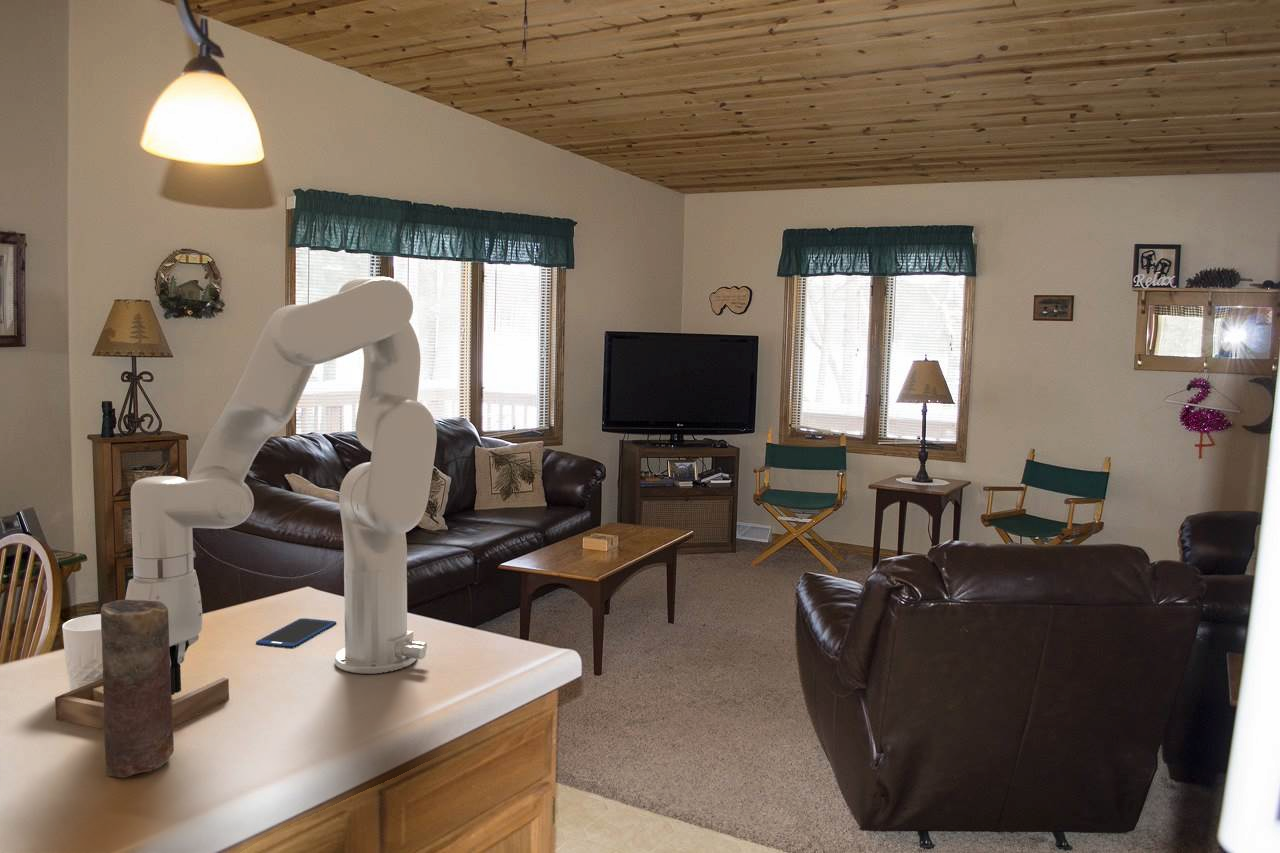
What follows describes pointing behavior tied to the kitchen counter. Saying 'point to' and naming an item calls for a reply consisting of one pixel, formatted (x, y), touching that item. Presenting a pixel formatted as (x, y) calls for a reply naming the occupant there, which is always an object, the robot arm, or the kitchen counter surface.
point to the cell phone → (296, 633)
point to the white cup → (83, 650)
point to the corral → (91, 713)
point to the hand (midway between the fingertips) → (167, 692)
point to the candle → (136, 686)
